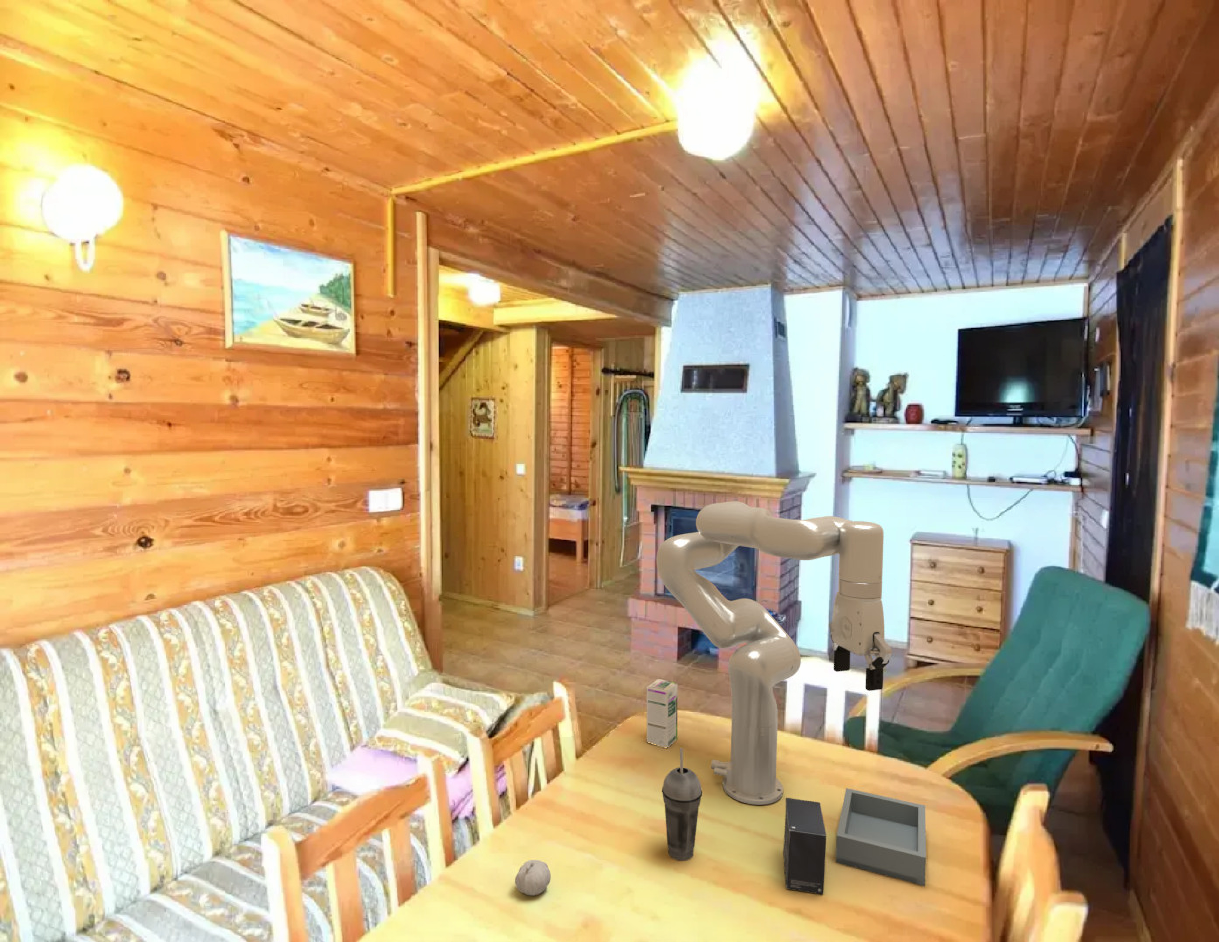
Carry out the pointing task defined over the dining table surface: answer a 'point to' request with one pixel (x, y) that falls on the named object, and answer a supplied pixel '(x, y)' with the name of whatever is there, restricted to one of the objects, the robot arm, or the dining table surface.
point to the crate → (882, 836)
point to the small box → (804, 846)
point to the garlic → (533, 877)
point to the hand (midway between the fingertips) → (857, 679)
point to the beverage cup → (681, 810)
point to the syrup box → (662, 712)
